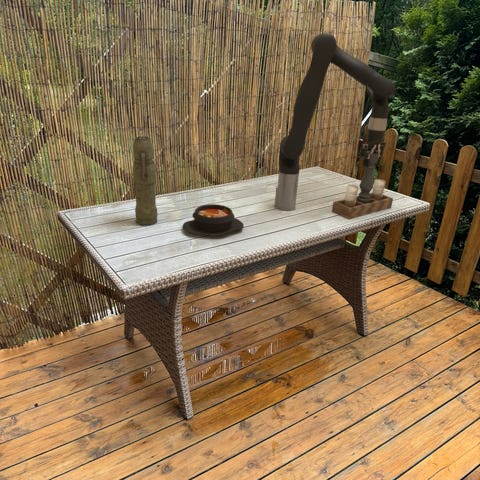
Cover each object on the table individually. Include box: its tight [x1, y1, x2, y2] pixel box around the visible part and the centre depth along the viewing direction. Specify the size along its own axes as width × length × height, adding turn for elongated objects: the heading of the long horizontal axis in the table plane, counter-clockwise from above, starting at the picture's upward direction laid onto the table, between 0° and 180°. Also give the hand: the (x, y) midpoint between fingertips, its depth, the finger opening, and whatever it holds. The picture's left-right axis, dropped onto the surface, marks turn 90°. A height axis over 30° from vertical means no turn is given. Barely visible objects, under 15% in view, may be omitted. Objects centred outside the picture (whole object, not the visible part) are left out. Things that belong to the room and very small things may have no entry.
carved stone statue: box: [132, 136, 158, 227], centre depth 170 cm, size 9×12×35 cm
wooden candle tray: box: [331, 178, 394, 220], centre depth 199 cm, size 30×10×13 cm, turn 124°
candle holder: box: [357, 150, 379, 204], centre depth 195 cm, size 6×6×25 cm
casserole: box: [182, 203, 244, 236], centre depth 171 cm, size 25×19×8 cm
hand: (369, 165), depth 192 cm, fingers closed on candle holder, 5 cm apart
